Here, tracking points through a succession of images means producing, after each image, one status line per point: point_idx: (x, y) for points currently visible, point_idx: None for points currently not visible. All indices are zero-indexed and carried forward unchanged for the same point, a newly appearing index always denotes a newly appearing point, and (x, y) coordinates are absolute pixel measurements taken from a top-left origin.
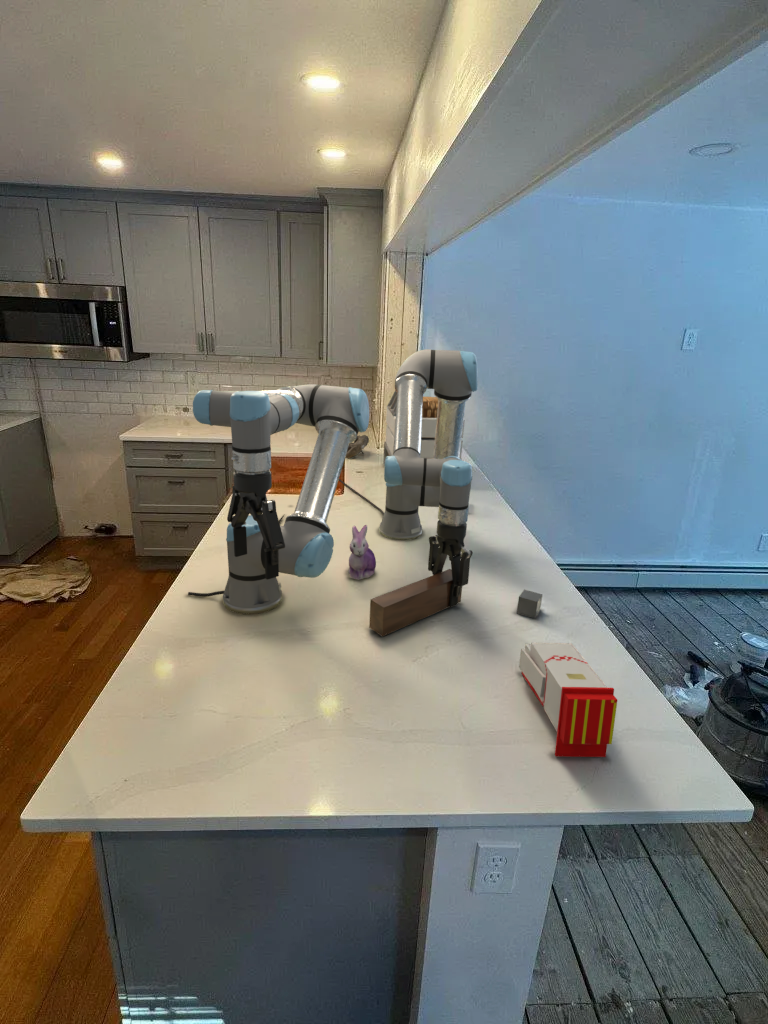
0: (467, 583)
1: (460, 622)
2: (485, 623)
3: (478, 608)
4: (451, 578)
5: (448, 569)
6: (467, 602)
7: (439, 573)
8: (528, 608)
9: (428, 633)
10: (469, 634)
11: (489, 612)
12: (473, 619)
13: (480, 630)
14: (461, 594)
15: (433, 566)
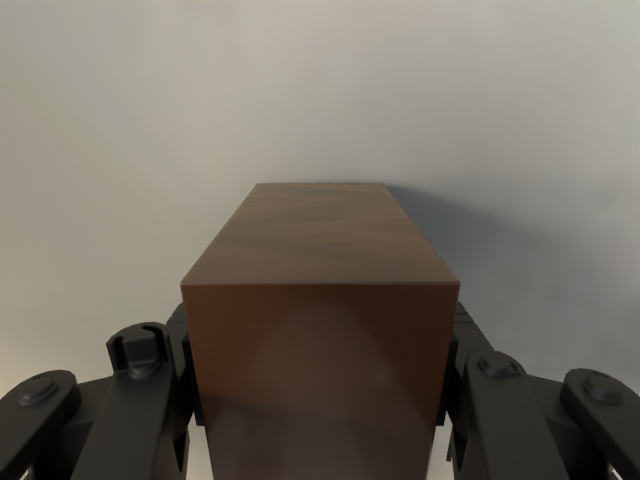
0: (620, 390)
1: (502, 325)
2: (620, 231)
3: (497, 121)
4: (401, 440)
5: (190, 315)
6: (394, 119)
7: (222, 453)
8: None
9: (448, 470)
10: (594, 366)
11: (584, 101)
12: (541, 252)
13: (626, 304)
14: (395, 199)
15: (55, 457)
